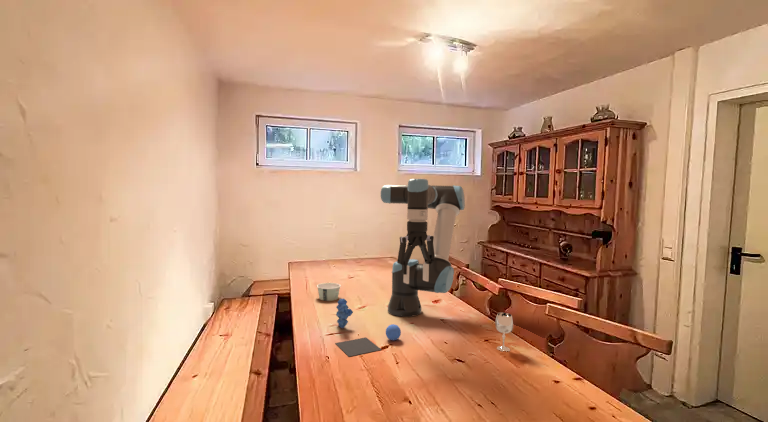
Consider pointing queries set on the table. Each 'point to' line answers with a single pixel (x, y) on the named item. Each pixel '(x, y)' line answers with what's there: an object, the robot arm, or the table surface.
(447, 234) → the robot arm
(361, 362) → the table surface
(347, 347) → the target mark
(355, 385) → the table surface
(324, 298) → the food container
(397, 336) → the ball
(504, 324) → the wineglass
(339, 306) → the grapes
